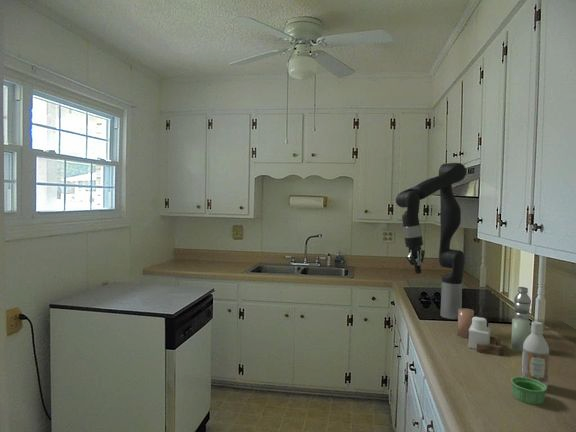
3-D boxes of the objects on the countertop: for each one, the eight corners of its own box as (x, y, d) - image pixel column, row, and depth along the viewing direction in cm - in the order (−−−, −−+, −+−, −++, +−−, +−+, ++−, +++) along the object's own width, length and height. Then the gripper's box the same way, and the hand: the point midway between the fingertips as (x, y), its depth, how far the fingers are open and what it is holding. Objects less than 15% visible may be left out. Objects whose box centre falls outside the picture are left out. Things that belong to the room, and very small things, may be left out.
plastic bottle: (514, 334, 169) (516, 288, 168) (511, 329, 176) (513, 285, 175) (531, 336, 167) (533, 290, 166) (527, 331, 174) (529, 287, 173)
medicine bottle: (470, 342, 160) (471, 313, 159) (489, 345, 156) (491, 316, 156) (467, 347, 154) (468, 317, 153) (488, 351, 150) (489, 320, 150)
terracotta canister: (462, 332, 172) (463, 307, 171) (475, 336, 167) (476, 310, 167) (454, 334, 168) (455, 309, 168) (468, 339, 163) (469, 312, 163)
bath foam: (523, 388, 121) (526, 324, 120) (519, 378, 128) (522, 318, 127) (549, 392, 119) (553, 327, 118) (544, 382, 125) (547, 320, 124)
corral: (476, 351, 150) (477, 344, 150) (474, 340, 162) (474, 333, 162) (502, 355, 146) (502, 347, 146) (498, 343, 159) (498, 336, 158)
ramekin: (513, 402, 113) (513, 387, 113) (508, 388, 121) (508, 374, 121) (549, 408, 110) (550, 393, 110) (541, 394, 118) (542, 379, 118)
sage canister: (514, 344, 158) (516, 317, 158) (531, 348, 154) (532, 321, 153) (508, 347, 155) (509, 319, 154) (524, 352, 150) (526, 323, 150)
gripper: (413, 238, 170) (419, 277, 170) (427, 232, 179) (433, 269, 179) (397, 238, 175) (403, 276, 176) (412, 233, 184) (418, 269, 185)
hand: (418, 273), depth 178 cm, fingers closed
